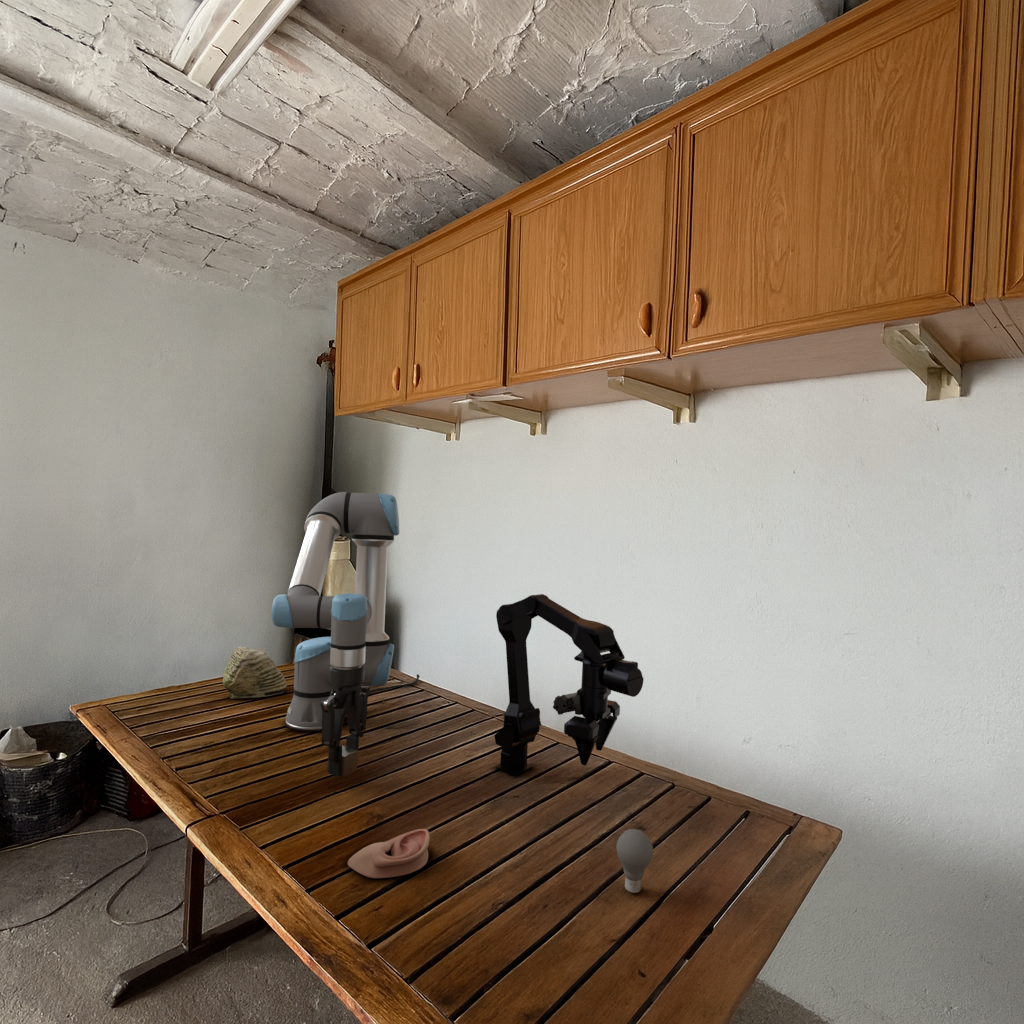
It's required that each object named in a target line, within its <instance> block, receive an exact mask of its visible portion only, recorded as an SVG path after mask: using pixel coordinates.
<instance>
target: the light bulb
mask: <svg viewBox="0 0 1024 1024" xmlns="http://www.w3.org/2000/svg"><path fill="white" fill-rule="evenodd" d="M615 849H616V854H617V857H618V859H619V861H620V863H621V865H622V867H623V873H624V874H623V875H624V876H625V878H624V888H625V890H627V891H628V892H630V893H634V894H635V893H639V892H640V891H641V889H642V887H641V886H642V879H643V877H644V875H645V871H646V868H647V867H648V866H649V864H650V863H651V861H652V859H653V855H654V847H653V843H652V841H651V838H649V836H648V835H647V834H646V833H645V832H643V831H642V830H641V829H636V828H629V829H627V830H625V831H623V832H622V833H621V834H620V835H619V837H618V839H617V841H616V847H615Z"/></svg>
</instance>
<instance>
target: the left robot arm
mask: <svg viewBox="0 0 1024 1024" xmlns="http://www.w3.org/2000/svg"><path fill="white" fill-rule="evenodd" d="M303 529H304V533H305V535H304V538H303V541H302V544H301V548H300V550H299V554H298V557H297V560H296V564H295V567H294V570H293V573H292V577H291V580H290V584H289V586H288V589H287V594H286V593H283V594H277V595H276V596H275V597H274V599H273V601H272V605H271V621H272V624H273V625H274V626H275V627H277V628H285V629H286V628H288V629H330V636H321V637H315V638H310V639H307V640H304V641H302V642H300V643H298V645H296V648H295V654H294V660H293V662H294V672H293V673H294V674H293V695H292V696H293V697H292V699H291V702H290V704H289V706H288V708H287V713H286V715H285V726H286V728H287V729H289V730H291V731H294V732H295V731H296V732H301V733H316V732H321V745H322V746H326V747H328V752H329V758H328V757H327V760H328V759H329V761H330V766H329V772H328V774H329V775H332V776H335V777H341V766H342V745H343V744H342V745H341V741H342V740H341V739H342V733H343V728H344V724H345V723H344V722H345V717H346V719H347V726H348V727H347V728H348V734H347V736H346V737H345V746H347V747H350V748H354V749H357V750H358V751H359V747H360V738H363V737H364V732H366V731H367V723H368V721H367V719H368V700H369V695H370V693H374V692H377V691H378V692H379V691H384V690H390V689H396V688H397V689H398V688H403V687H409V686H413V685H416V684H417V683H418V682H419V678H420V674H418V673H417V674H416V679H415V681H413V682H409V683H403V684H397V685H390V686H385V685H386V684H387V683H388V681H389V678H390V673H391V668H392V663H393V658H394V650H395V645H394V644H393V643H391V642H390V636H389V635H388V634H387V633H386V632H385V624H386V623H385V622H386V619H385V618H386V601H387V599H386V598H387V580H388V556H389V547H390V546H391V545H392V544H393V543H394V542H395V536H399V535H400V518H399V508H398V502H397V498H396V497H395V496H394V495H392V494H388V493H381V492H378V493H376V492H375V493H374V492H372V493H371V492H349V491H339V492H335V493H332V494H329V495H328V496H326V497H324V498H322V500H320V501H319V502H317V503H316V504H315V505H314V506H313V507H312V508H311V510H310V511H309V513H308V514H307V516H306V518H305V521H304V526H303ZM341 534H349V535H350V534H351V541H352V542H353V543H354V544H355V545H356V564H355V566H356V567H355V585H354V593H339V594H336V595H321V594H322V591H323V587H324V584H325V579H326V575H327V572H328V567H329V566H328V565H329V562H330V559H331V556H332V551H333V547H334V542H335V540H337V539H338V537H339V536H340V535H341ZM384 686H385V687H384ZM372 687H378V688H372ZM371 688H372V689H371Z"/></svg>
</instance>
